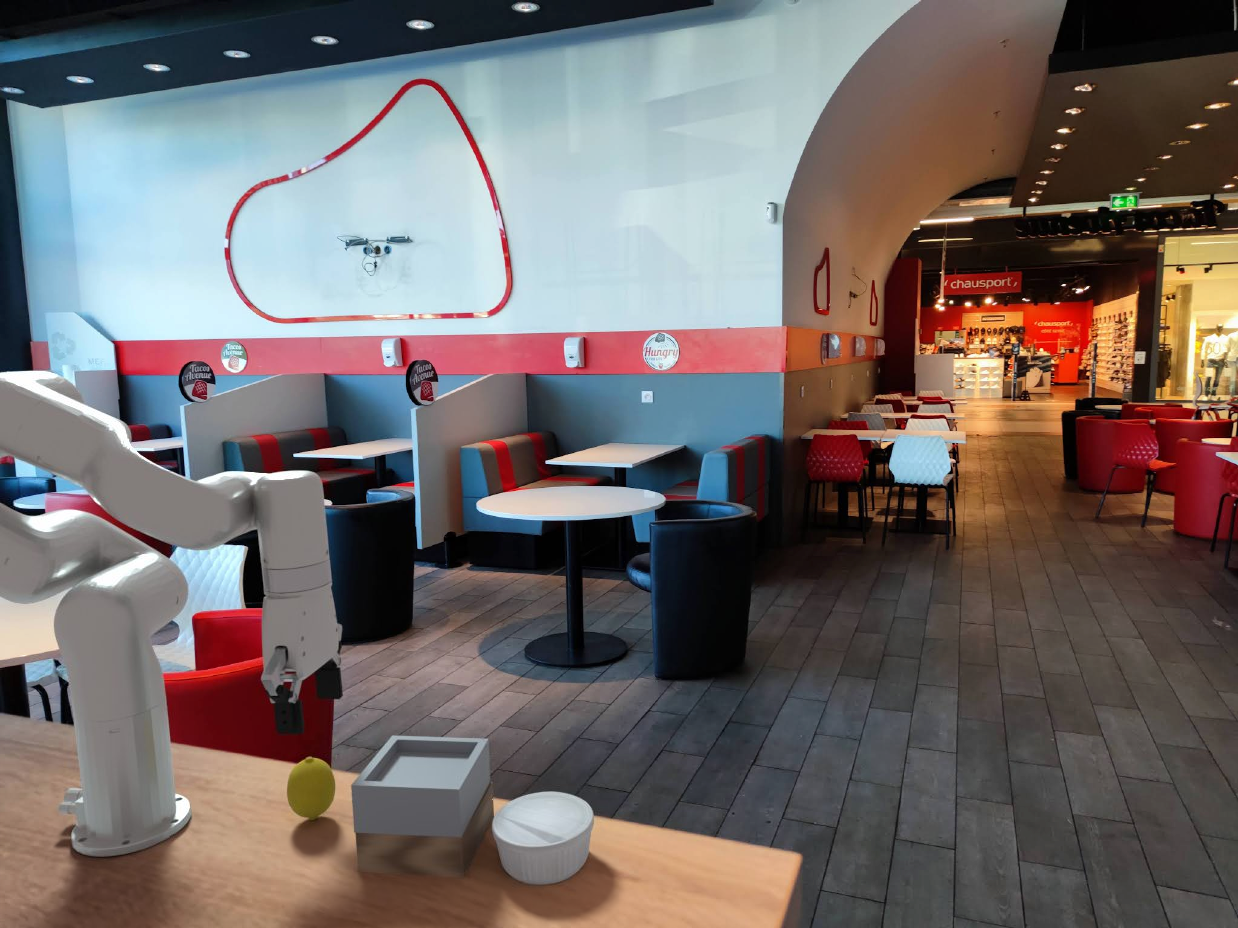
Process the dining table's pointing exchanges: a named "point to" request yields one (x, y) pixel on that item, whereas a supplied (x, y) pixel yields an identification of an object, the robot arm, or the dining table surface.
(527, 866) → the ramekin
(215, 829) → the dining table surface
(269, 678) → the robot arm
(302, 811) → the lemon
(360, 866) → the tower bottom block
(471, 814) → the tower top block
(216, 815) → the dining table surface
